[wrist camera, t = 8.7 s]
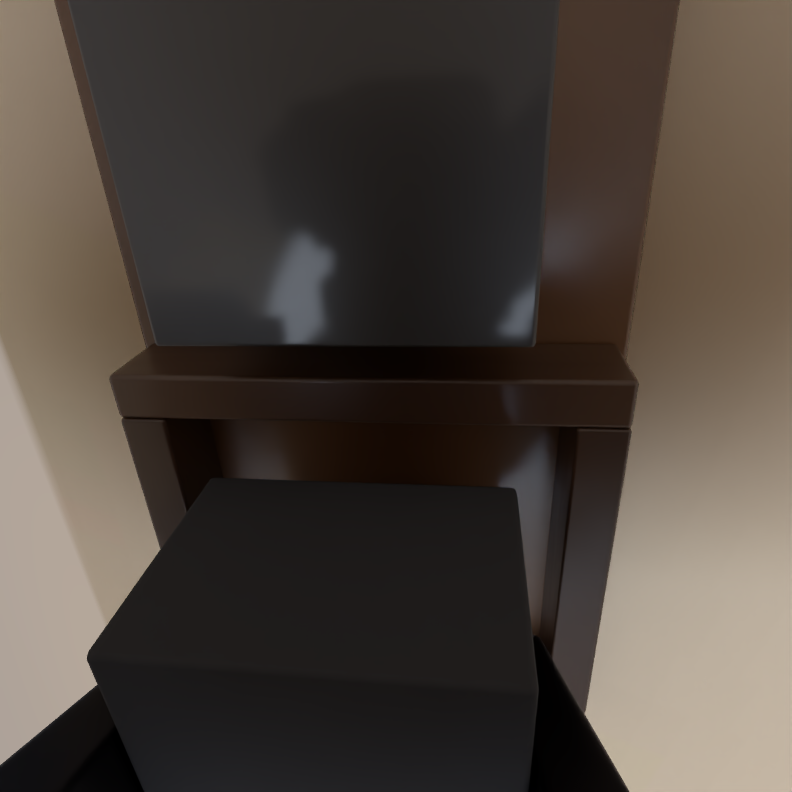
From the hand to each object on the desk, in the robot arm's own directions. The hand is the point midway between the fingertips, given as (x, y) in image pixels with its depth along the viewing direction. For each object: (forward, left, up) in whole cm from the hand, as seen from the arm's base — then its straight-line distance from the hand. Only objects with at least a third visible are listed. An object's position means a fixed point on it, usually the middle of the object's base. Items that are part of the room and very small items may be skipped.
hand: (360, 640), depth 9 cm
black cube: (0, 0, -1) cm, 1 cm away
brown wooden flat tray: (0, +2, -4) cm, 4 cm away
